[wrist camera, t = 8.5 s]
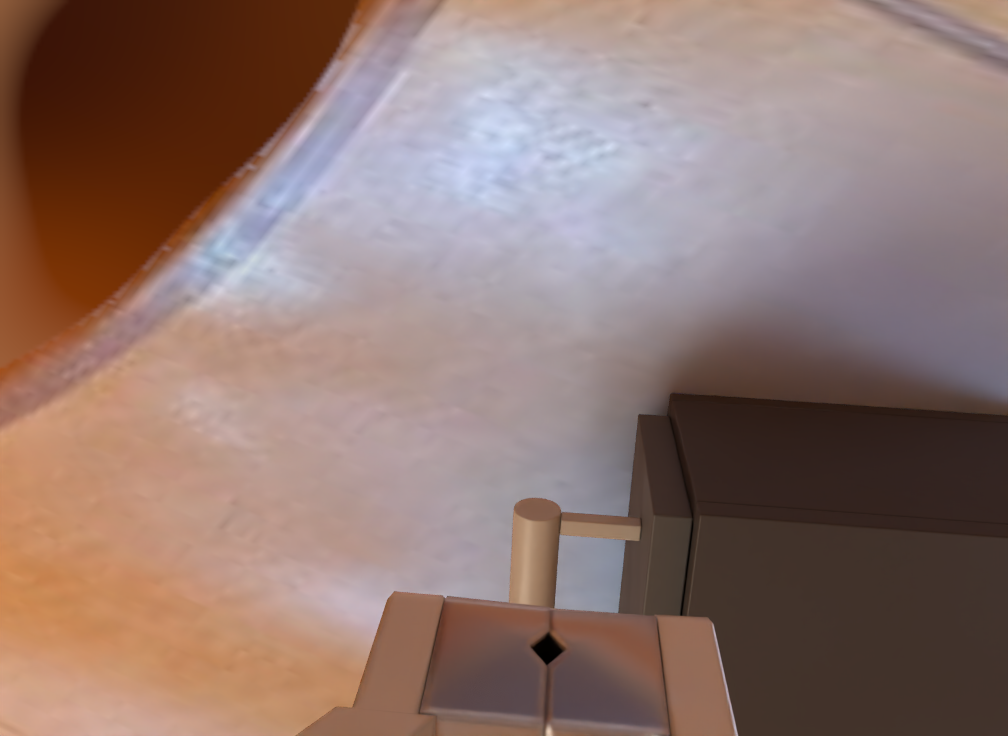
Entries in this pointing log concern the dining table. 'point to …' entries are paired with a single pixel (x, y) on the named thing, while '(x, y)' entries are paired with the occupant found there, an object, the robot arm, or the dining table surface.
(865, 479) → the cabinet
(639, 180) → the dining table surface
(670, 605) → the drawer
